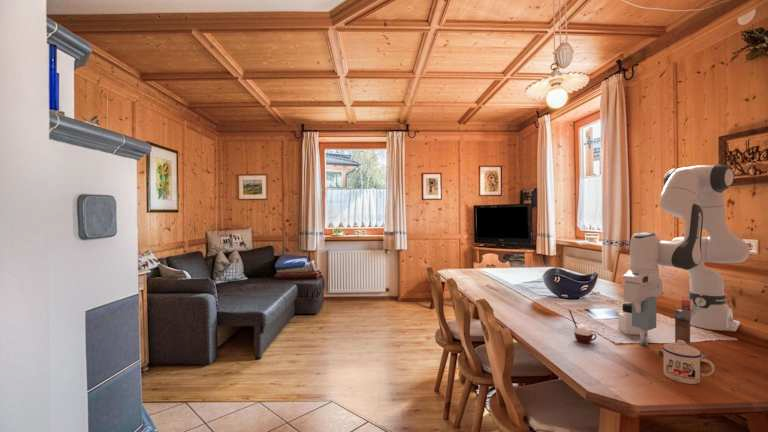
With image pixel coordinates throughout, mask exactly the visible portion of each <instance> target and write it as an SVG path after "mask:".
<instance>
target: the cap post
mask: <svg viewBox="0 0 768 432" xmlns="http://www.w3.org/2000/svg"><path fill="white" fill-rule="evenodd" d="M639 345H640V346H641V347H646V346H647V347H649V330H645V329H642V328H640V335H639Z"/></svg>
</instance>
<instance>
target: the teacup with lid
mask: <svg viewBox="0 0 768 432" xmlns="http://www.w3.org/2000/svg"><path fill="white" fill-rule="evenodd" d="M662 349H664V356H663V375H664V376H665V377H666V378H668V379H670V380H672V381H675V382H677V383H681V384H685V385H686V384H688V385H698V384H699V383H701V376H703V377H704V376H705V377H708V376H711V375H712V374H714V372H715V365H714V363H713V362H712V361H710V360H709V359H707V360H706V359H702V358H700V356H701V351H700V350H699V349H698V348H695V347H693V346H691V345H690V346H689V345H687V344H686V342H685V341H683V340H677V342H675V341H674V342H667V343H664V344H663V346H662ZM700 361H702V362H701V363H703V362H704V363H706V364H708V365H709V366H710V367H711V369H710V370H709V371H708V372H704V371H701V363H700Z"/></svg>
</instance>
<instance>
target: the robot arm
mask: <svg viewBox="0 0 768 432" xmlns="http://www.w3.org/2000/svg"><path fill="white" fill-rule="evenodd" d="M733 172H734V171H733V169H732V168H731V167H730V166H728V165H727V164H726V165H724V164H714V165H713V164H712V165H711V164H708V165H707V164H704V165H703V164H702V165H693V166H686V167H675V168H671V169H669V170H668V171H667V172H666V173H665V174H664V176H663V184H664V185H663V189H662V191H661V193H660V196H659V202H658V205H659V206H660V208H661V209H662V211H663V212H665V213H666V214H668V215H670V216H672V217H675V218H678V219H681V220H684V223H685V224H684V232H683V236H677V237H676V236H675V237H674V238H672V239H671V240H665V239H664V240H662V239H660V238H658V236H657V234H656V233H655V232H652V231H651V232H650V231H643V232H642V231H641V232H636V233H634V234H632V236H631V238H630V243H629V258H630V263H629V269H628V270H627V272H626V273H625V274H623V275H622V281H623V282H624V283H623V298H624V300H625V303H633V304H634V306H635V311H636V312H637V313H642V312H643V311H642V310H643V308H641V302H642V301H645V299H646V298H650V297H656V298H659V297H662V294H663V282H662V279H661V277H660V275H659V273H660V272H659V271H660V270H659V269H660V268H659V266H665V267H672V268H673V267H674V268H677V269H682V270H686V271H687V274H688V278H689V279H688V280H689V290H688V294H687V295H688V296H687V297H688V298H689V299H692V305H698V306H699V311H698V312H697V313H696V314H695V315H694V316H693V317H691V321H690V326H694V327H696V328H701V329H707V330H712V331H727V332H737V330H738V328H739V327H740V325H741V322H740V321H739V320H737V319H736V320H735V319H734V316H733V315H734V312H733V310H732V309H731V307H729V305H728V304H727V299H728V294H727V293H725V278H724V276H723V275H722V274H721V273H719V272H717V271H716V270H713V269H711V268H709V267H707V266H706V265H705V263H718V264H719V263H720V264H738V263H743V262H745V261H746V260H747V259H748V258H749V256H750V254H751V252H750V251H751V249H750V246H749V244H747V242H746V241H745V240H743V239H741V238H740V237H737V235H735V234H734V233H733V232H732V231H731V230H730V229H729V227H728V225H727V221H726V214H725V211H726V210H725V207H726V206H725V194H724V191H726V190H728V189H729V188H730V187H731V186H732V185H733V182H734V178H735V177H734V173H733ZM704 231H705V232H706V233H708V235H709V236H703V232H704Z"/></svg>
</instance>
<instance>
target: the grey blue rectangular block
mask: <svg viewBox="0 0 768 432" xmlns="http://www.w3.org/2000/svg"><path fill="white" fill-rule="evenodd" d="M641 308H643V310H642V311H643V312H642V313H637V312H636V311H635V306H634V304H633V303H632V326H634V327H638V328H642V329H645V330H648V331H650V330H654V329H656V328H657V297H650V298H646V299H645V301H642V302H641Z"/></svg>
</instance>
